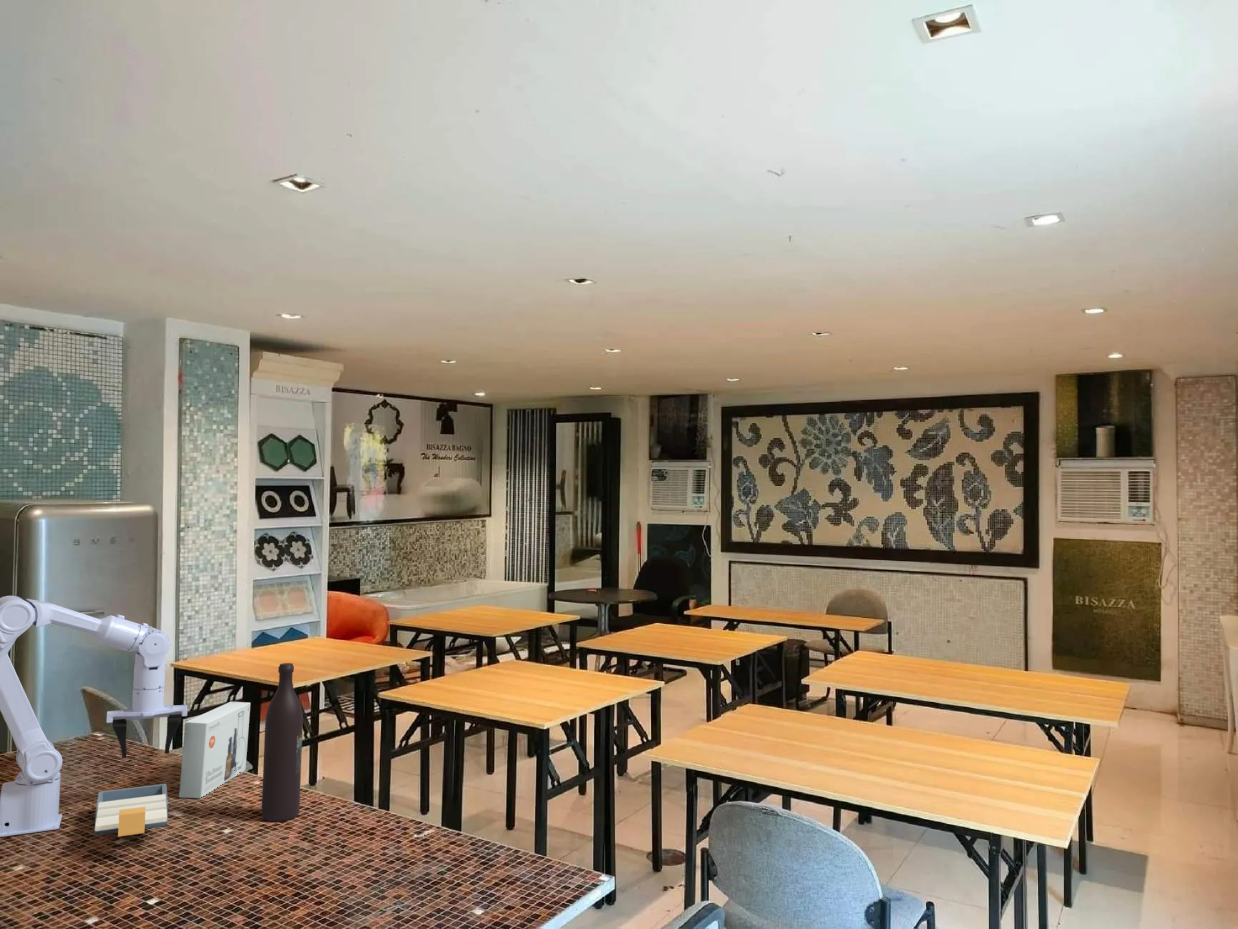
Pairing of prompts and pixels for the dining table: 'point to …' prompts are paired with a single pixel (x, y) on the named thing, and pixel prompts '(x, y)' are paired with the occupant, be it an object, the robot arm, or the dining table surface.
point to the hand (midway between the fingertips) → (145, 754)
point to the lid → (131, 814)
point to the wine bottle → (282, 751)
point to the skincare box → (214, 749)
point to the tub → (128, 794)
